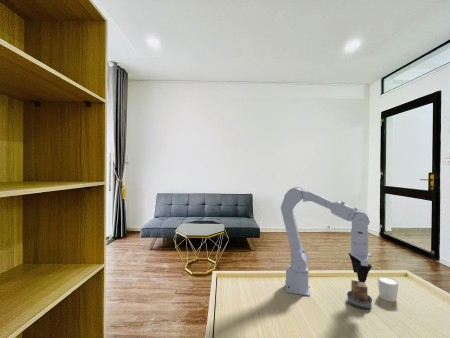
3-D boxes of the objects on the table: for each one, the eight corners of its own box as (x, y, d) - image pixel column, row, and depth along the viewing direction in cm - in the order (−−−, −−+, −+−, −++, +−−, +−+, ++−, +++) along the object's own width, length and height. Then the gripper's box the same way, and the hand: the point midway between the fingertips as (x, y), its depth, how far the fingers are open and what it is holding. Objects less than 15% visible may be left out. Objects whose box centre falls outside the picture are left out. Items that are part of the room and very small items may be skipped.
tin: (348, 308, 85) (348, 300, 85) (345, 296, 92) (345, 289, 92) (374, 313, 82) (374, 304, 82) (369, 300, 90) (369, 293, 90)
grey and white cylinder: (402, 303, 87) (402, 285, 87) (382, 301, 88) (382, 283, 88) (392, 294, 94) (392, 277, 94) (374, 292, 95) (374, 275, 95)
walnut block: (353, 298, 86) (353, 285, 86) (351, 292, 90) (351, 280, 90) (367, 300, 84) (367, 287, 84) (364, 294, 89) (364, 281, 89)
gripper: (377, 249, 79) (377, 288, 79) (365, 237, 93) (365, 270, 93) (354, 247, 81) (354, 284, 81) (346, 235, 95) (346, 267, 95)
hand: (359, 276), depth 87 cm, fingers open, 7 cm apart
